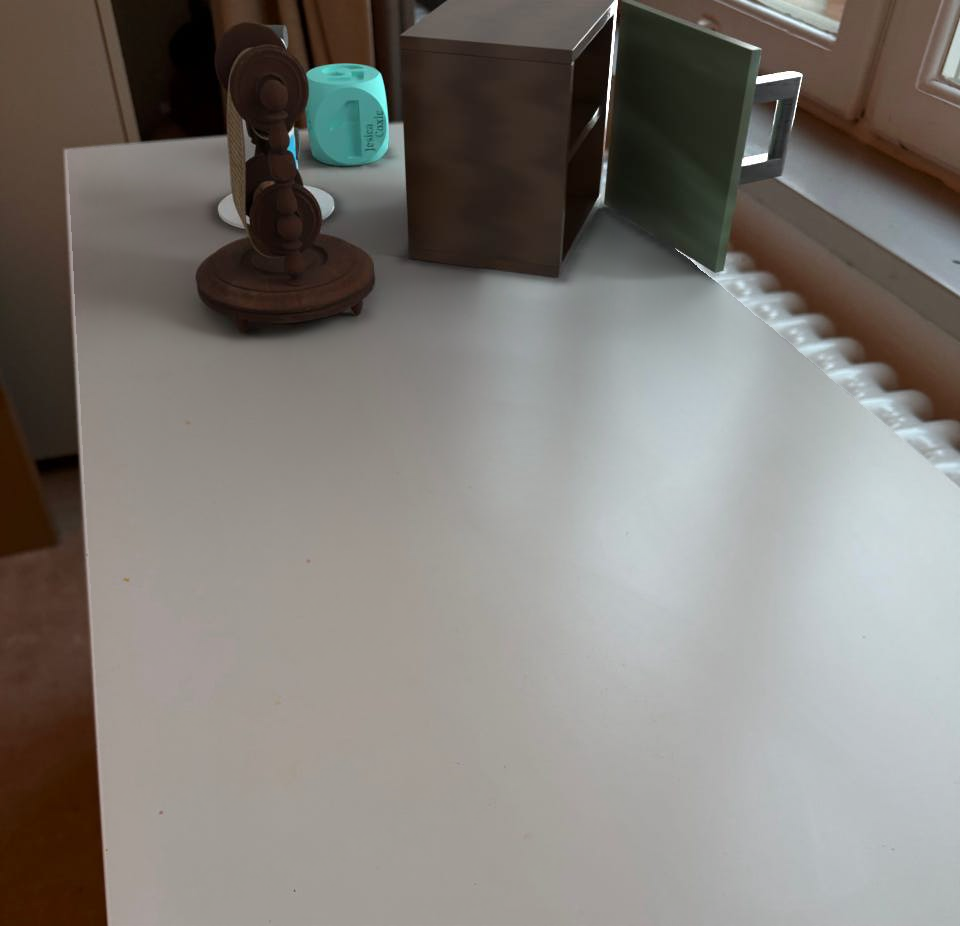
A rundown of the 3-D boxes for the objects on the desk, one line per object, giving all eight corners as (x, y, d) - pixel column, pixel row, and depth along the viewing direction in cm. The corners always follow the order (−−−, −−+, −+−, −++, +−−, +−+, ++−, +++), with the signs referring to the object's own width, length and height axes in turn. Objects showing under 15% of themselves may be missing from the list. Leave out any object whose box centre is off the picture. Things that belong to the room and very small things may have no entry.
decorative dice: (316, 169, 110) (308, 87, 104) (308, 144, 116) (300, 65, 110) (390, 163, 111) (386, 82, 106) (379, 139, 117) (374, 61, 111)
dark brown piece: (189, 275, 91) (139, 16, 77) (352, 253, 94) (332, 2, 81) (215, 352, 81) (163, 70, 67) (397, 324, 84) (382, 51, 71)
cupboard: (600, 204, 103) (617, -3, 91) (558, 278, 91) (572, 50, 78) (466, 188, 106) (466, -15, 94) (408, 258, 94) (399, 35, 81)
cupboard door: (667, 191, 106) (692, -9, 94) (783, 256, 94) (829, 38, 82) (603, 204, 103) (621, 0, 91) (714, 273, 92) (752, 50, 79)
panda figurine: (324, 235, 97) (306, 58, 87) (205, 232, 98) (173, 56, 87) (341, 188, 106) (327, 22, 96) (232, 185, 106) (206, 20, 96)
